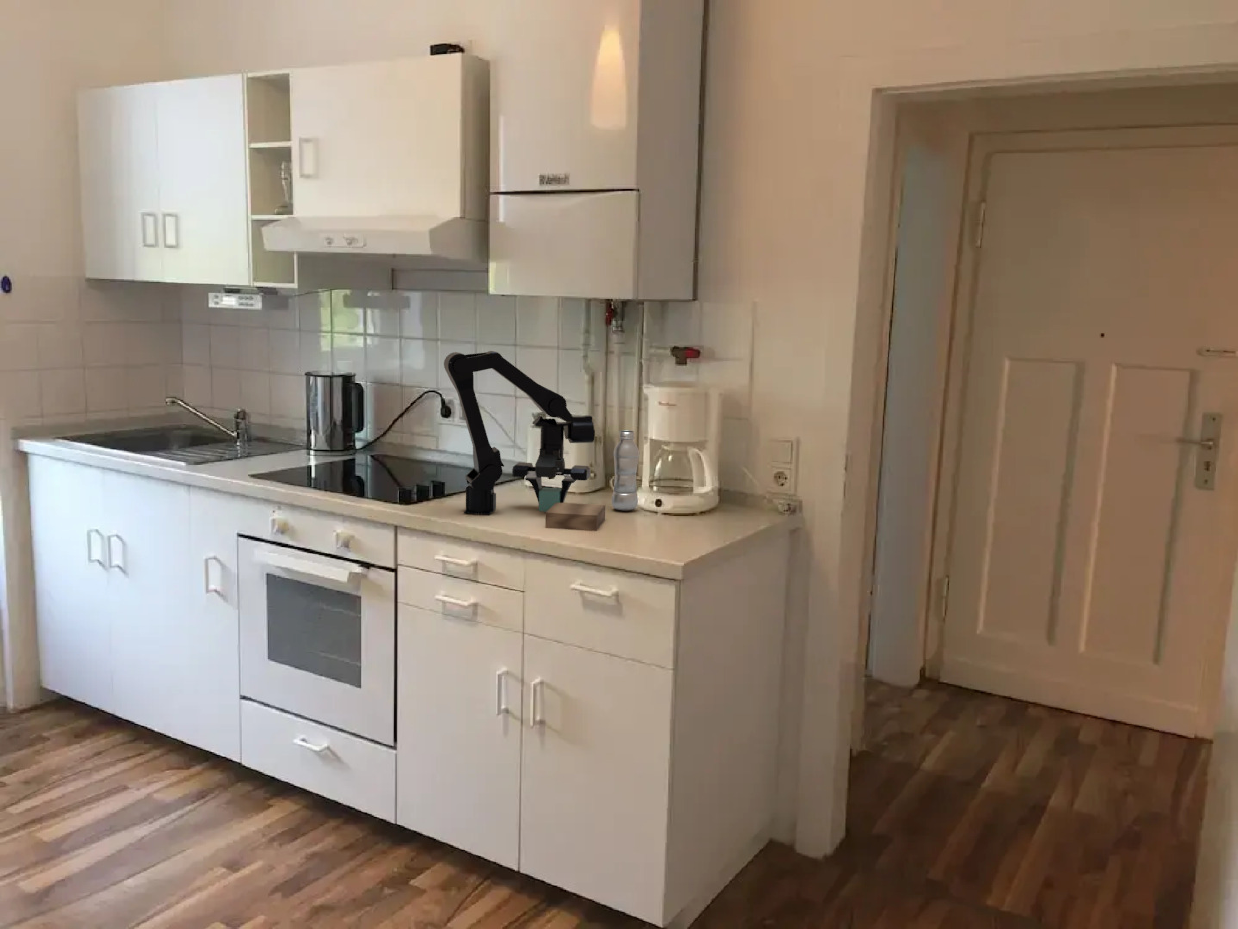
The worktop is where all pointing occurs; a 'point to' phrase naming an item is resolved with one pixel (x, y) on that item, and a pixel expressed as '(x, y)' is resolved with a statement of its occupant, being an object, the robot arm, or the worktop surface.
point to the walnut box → (575, 516)
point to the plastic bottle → (625, 472)
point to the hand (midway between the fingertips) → (550, 505)
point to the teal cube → (548, 498)
